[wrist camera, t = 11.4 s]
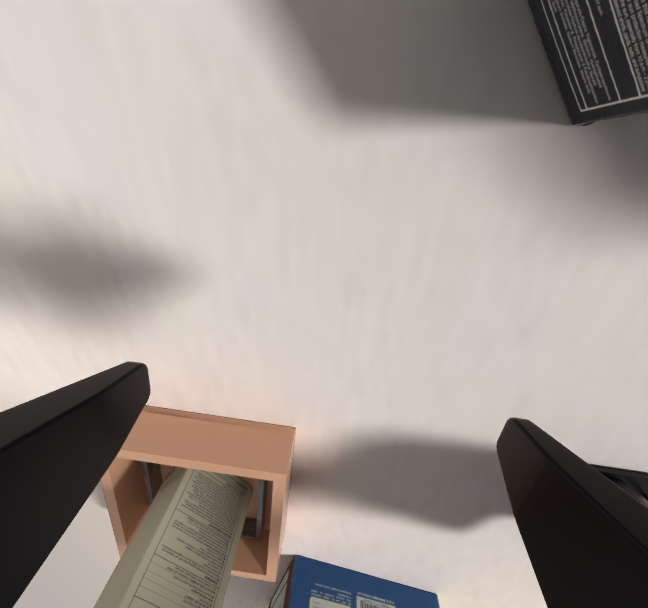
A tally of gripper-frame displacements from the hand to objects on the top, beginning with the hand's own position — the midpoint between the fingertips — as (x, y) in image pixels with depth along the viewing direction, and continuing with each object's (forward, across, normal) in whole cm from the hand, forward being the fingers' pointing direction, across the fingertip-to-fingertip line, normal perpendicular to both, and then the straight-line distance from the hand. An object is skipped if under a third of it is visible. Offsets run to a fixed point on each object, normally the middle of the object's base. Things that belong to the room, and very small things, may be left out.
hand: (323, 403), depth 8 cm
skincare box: (+12, +8, +20) cm, 24 cm away
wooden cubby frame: (+12, +8, +20) cm, 25 cm away
